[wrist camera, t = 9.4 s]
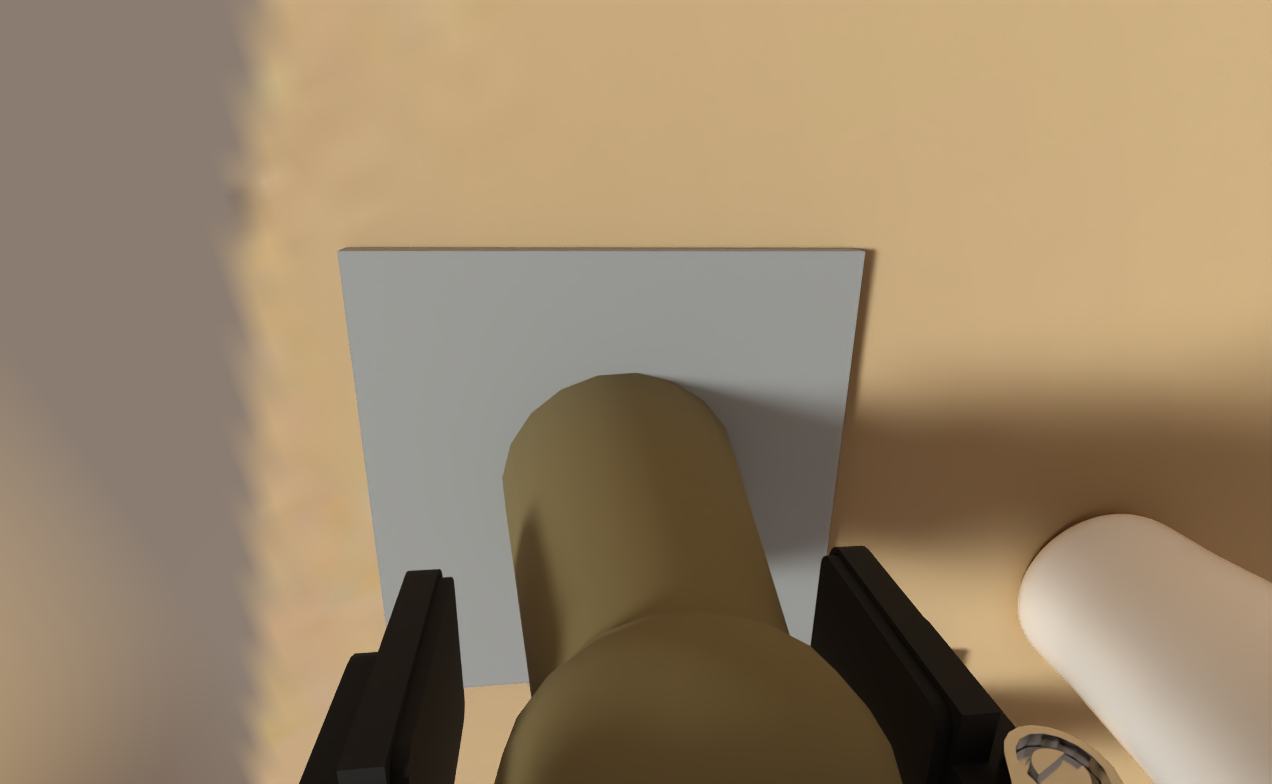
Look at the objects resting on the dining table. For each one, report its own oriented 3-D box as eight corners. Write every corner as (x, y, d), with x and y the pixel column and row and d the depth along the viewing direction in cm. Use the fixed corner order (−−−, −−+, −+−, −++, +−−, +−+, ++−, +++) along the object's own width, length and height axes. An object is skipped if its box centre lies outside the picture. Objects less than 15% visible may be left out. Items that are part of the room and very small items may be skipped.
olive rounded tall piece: (558, 334, 15) (577, 680, 5) (777, 425, 17) (1130, 836, 7) (466, 544, 17) (338, 1135, 7) (674, 611, 18) (831, 1180, 8)
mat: (345, 247, 15) (337, 250, 14) (854, 248, 16) (865, 251, 16) (399, 676, 19) (394, 692, 18) (806, 646, 20) (813, 660, 20)
